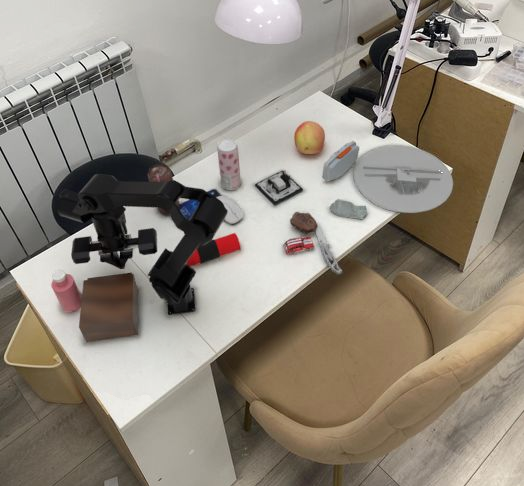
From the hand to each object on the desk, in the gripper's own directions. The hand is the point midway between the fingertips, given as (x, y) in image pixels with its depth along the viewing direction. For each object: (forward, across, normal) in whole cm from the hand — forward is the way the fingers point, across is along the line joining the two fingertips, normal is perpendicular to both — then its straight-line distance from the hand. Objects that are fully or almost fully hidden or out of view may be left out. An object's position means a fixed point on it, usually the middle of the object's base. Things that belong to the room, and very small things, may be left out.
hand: (122, 267), depth 132 cm
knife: (+6, -52, -2) cm, 52 cm away
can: (+7, -11, -24) cm, 27 cm away
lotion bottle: (+7, +13, +3) cm, 15 cm away
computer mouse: (+7, -27, -20) cm, 34 cm away
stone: (+7, -45, -12) cm, 47 cm away
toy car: (+7, -43, -4) cm, 44 cm away
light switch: (+5, -40, -31) cm, 51 cm away
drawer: (+6, +3, +6) cm, 9 cm away
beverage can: (+7, -29, -30) cm, 43 cm away
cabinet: (+7, +3, +8) cm, 11 cm away
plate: (+7, -78, -24) cm, 82 cm away
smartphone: (+7, -19, -22) cm, 30 cm away
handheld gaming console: (+7, -61, -30) cm, 68 cm away
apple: (+2, -52, -36) cm, 64 cm away
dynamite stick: (+4, -28, -7) cm, 29 cm away
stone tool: (+5, -61, -16) cm, 63 cm away
